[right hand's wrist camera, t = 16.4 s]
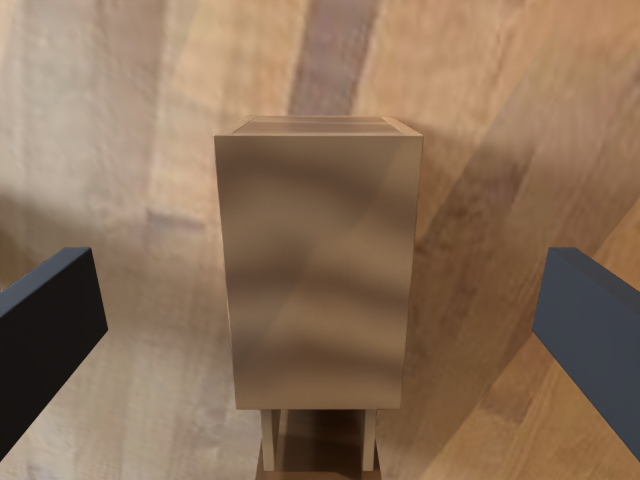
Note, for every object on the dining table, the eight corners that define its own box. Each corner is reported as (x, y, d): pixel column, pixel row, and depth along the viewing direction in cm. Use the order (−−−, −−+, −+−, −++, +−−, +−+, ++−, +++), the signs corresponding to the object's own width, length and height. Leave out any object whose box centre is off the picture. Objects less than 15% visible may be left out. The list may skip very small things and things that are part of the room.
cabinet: (379, 321, 40) (400, 409, 29) (257, 321, 40) (236, 409, 29) (390, 115, 33) (423, 135, 23) (245, 115, 33) (212, 135, 23)
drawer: (367, 453, 44) (378, 545, 36) (269, 453, 44) (258, 545, 36) (377, 251, 36) (396, 306, 28) (259, 251, 36) (240, 306, 28)
